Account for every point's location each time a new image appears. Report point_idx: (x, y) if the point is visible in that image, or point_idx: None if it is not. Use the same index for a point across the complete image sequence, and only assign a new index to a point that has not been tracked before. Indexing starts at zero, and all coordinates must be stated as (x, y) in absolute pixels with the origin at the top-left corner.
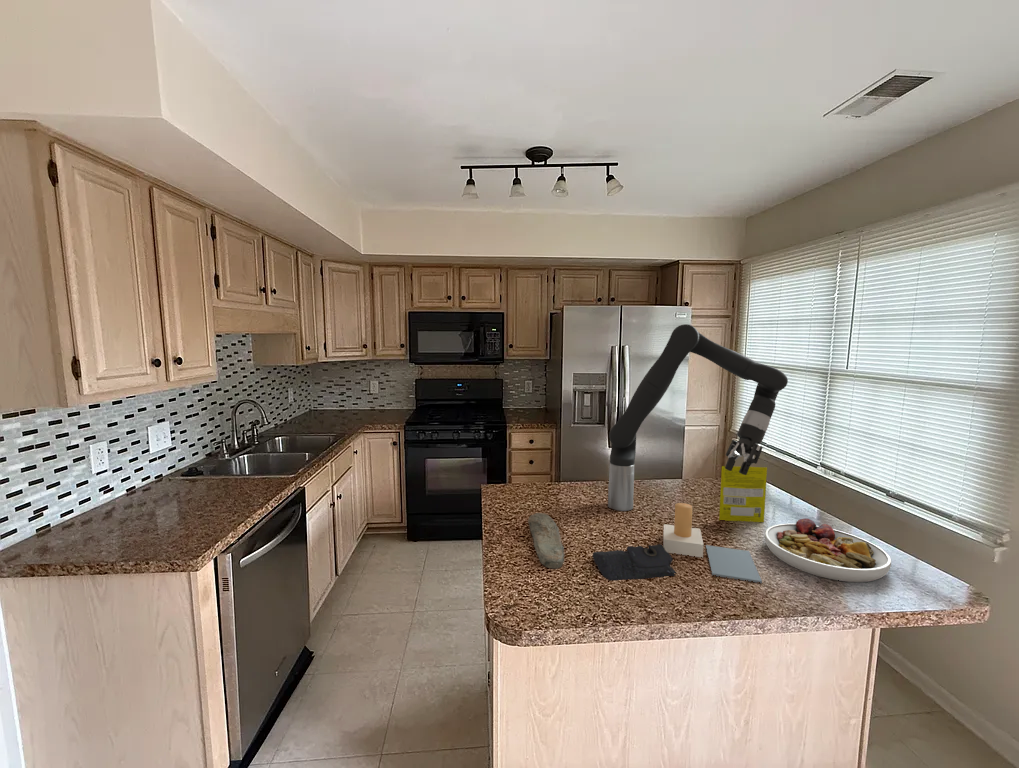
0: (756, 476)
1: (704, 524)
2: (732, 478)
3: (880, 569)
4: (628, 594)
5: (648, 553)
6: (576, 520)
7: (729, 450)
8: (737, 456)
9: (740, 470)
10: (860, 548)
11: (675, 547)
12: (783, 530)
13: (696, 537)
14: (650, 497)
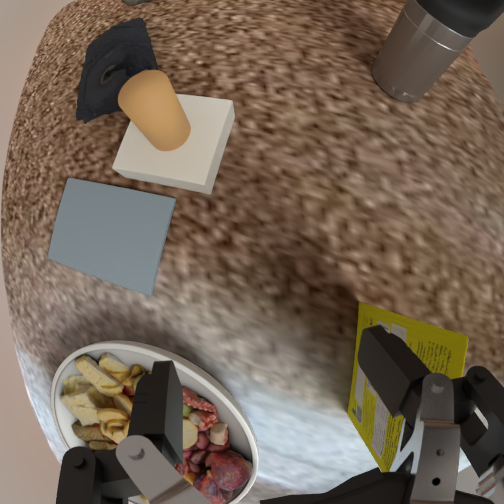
0: None
1: (326, 247)
2: None
3: None
4: (58, 71)
5: (105, 72)
6: (296, 4)
7: (491, 407)
8: (403, 450)
9: (157, 369)
10: None
11: None
12: (229, 424)
13: (148, 160)
14: (472, 169)
